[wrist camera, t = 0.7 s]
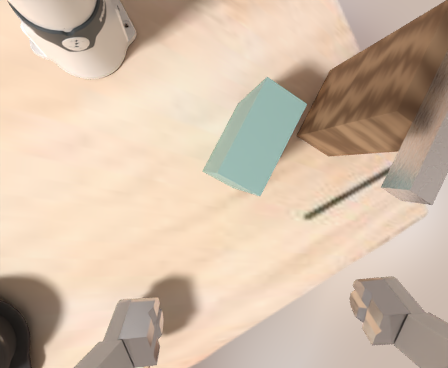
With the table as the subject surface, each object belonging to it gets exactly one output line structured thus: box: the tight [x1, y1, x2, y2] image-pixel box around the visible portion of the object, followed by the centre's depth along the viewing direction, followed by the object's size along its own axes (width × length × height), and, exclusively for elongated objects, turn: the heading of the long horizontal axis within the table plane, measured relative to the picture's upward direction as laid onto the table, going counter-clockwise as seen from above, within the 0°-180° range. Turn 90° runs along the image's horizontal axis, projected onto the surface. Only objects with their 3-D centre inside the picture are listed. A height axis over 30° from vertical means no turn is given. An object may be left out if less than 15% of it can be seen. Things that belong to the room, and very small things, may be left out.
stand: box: [297, 0, 448, 156], centre depth 46 cm, size 18×10×26 cm, turn 152°
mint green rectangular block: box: [203, 77, 307, 196], centre depth 46 cm, size 17×8×16 cm, turn 152°
